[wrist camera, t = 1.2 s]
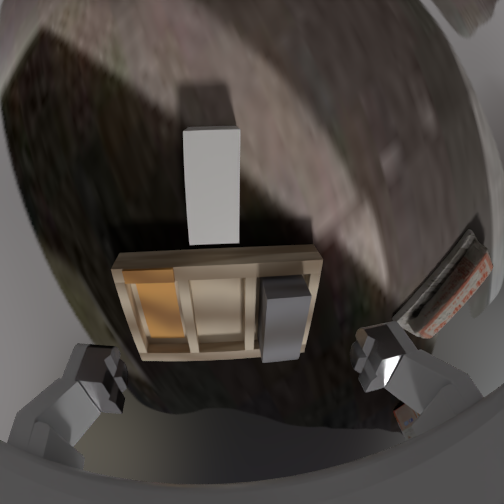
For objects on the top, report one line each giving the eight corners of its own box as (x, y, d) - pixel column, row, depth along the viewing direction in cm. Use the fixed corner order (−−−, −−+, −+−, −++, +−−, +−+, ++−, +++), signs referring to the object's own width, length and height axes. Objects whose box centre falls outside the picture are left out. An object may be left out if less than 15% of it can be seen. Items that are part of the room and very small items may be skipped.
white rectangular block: (188, 127, 21) (182, 131, 18) (236, 125, 21) (240, 129, 18) (192, 224, 25) (189, 245, 22) (235, 222, 26) (239, 243, 23)
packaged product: (488, 241, 26) (499, 271, 30) (466, 225, 30) (482, 255, 34) (403, 339, 32) (428, 352, 36) (388, 316, 36) (414, 333, 40)
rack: (119, 252, 26) (102, 285, 21) (313, 244, 28) (332, 275, 23) (145, 342, 32) (139, 377, 27) (298, 334, 34) (309, 367, 30)
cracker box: (391, 411, 58) (417, 472, 40) (409, 399, 56) (438, 460, 38) (407, 414, 63) (431, 467, 45) (423, 403, 62) (448, 456, 44)
